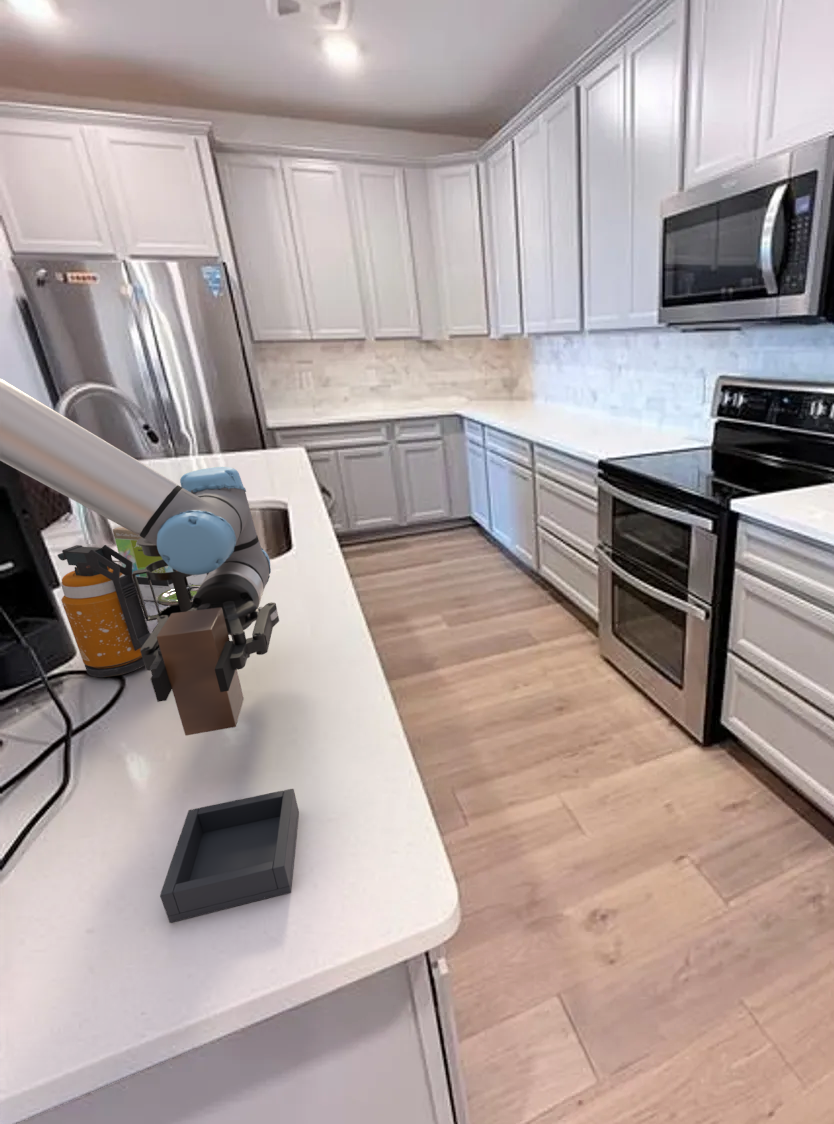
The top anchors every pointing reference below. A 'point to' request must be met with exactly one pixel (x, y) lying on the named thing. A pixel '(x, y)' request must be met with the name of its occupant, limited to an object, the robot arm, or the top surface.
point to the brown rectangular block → (199, 670)
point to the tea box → (146, 564)
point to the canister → (104, 610)
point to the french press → (175, 597)
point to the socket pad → (232, 855)
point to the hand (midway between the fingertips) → (190, 684)
